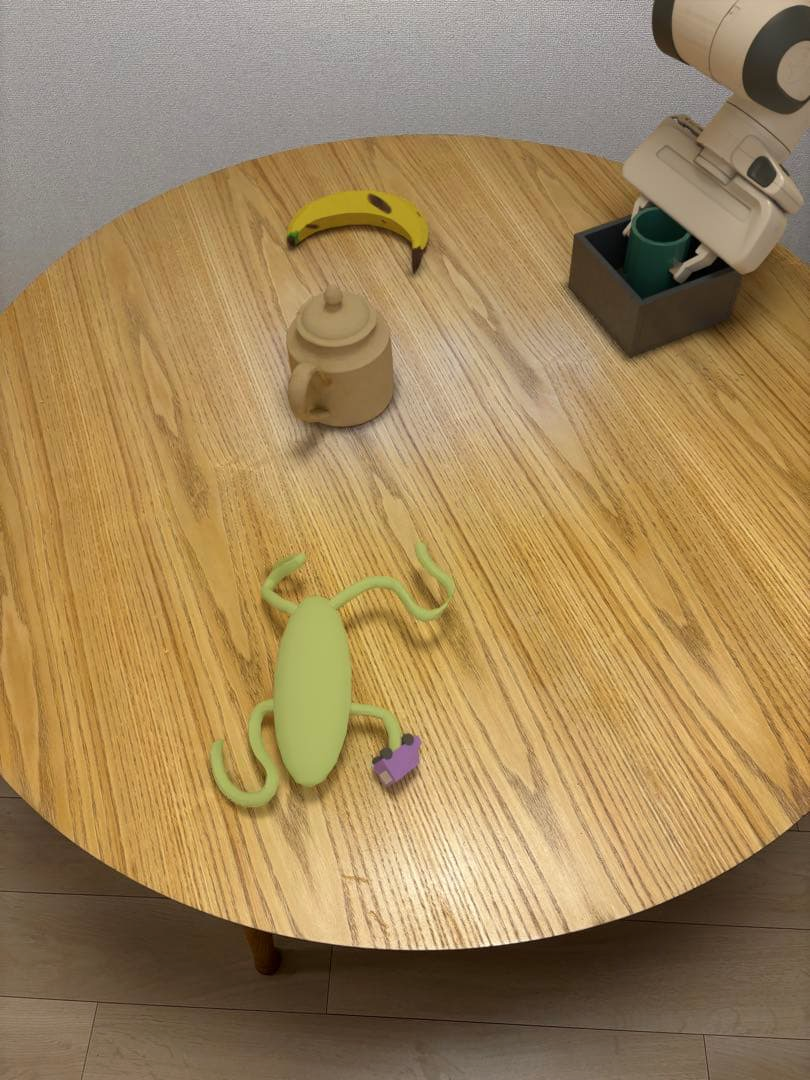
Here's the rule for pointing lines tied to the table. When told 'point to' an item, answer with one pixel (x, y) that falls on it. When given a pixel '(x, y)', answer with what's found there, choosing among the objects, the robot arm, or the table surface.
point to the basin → (653, 317)
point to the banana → (362, 217)
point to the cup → (654, 252)
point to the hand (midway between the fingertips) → (651, 259)
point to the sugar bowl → (339, 360)
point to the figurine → (322, 688)
